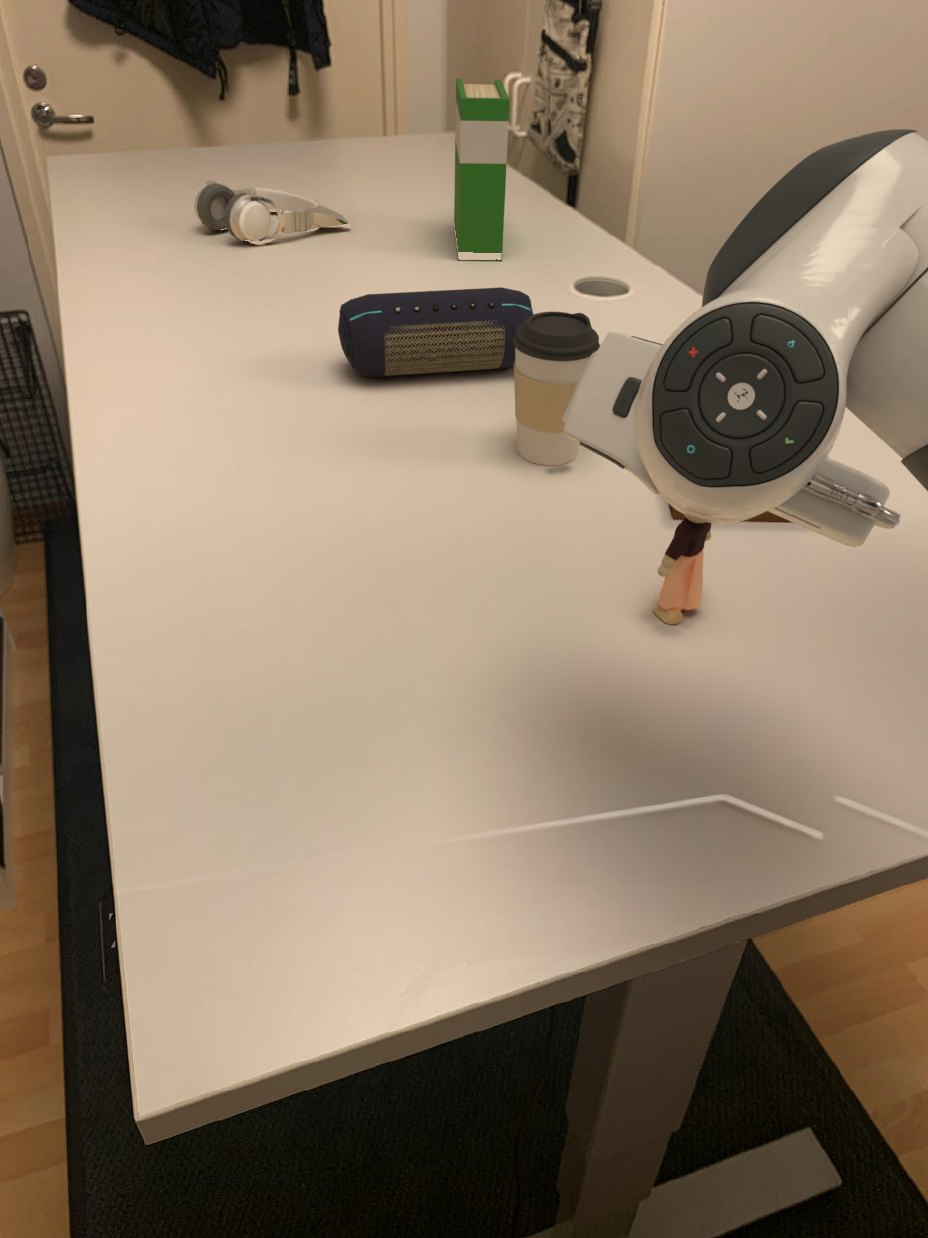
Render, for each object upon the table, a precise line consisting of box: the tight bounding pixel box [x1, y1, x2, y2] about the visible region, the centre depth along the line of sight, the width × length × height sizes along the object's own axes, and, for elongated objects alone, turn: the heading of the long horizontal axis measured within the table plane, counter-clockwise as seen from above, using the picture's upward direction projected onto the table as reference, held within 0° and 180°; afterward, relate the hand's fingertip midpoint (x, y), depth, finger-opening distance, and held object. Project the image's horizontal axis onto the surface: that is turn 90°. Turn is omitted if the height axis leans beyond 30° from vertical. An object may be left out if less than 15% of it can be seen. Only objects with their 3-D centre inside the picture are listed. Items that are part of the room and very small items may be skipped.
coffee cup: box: [513, 311, 601, 466], centre depth 98 cm, size 9×9×15 cm
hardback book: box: [453, 78, 511, 262], centre depth 152 cm, size 18×7×24 cm, turn 3°
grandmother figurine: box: [652, 515, 712, 625], centre depth 77 cm, size 8×4×13 cm, turn 151°
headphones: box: [193, 179, 350, 246], centre depth 163 cm, size 22×8×22 cm
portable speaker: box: [337, 287, 535, 378], centre depth 116 cm, size 25×10×10 cm, turn 102°
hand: (716, 464), depth 63 cm, fingers open, 8 cm apart
